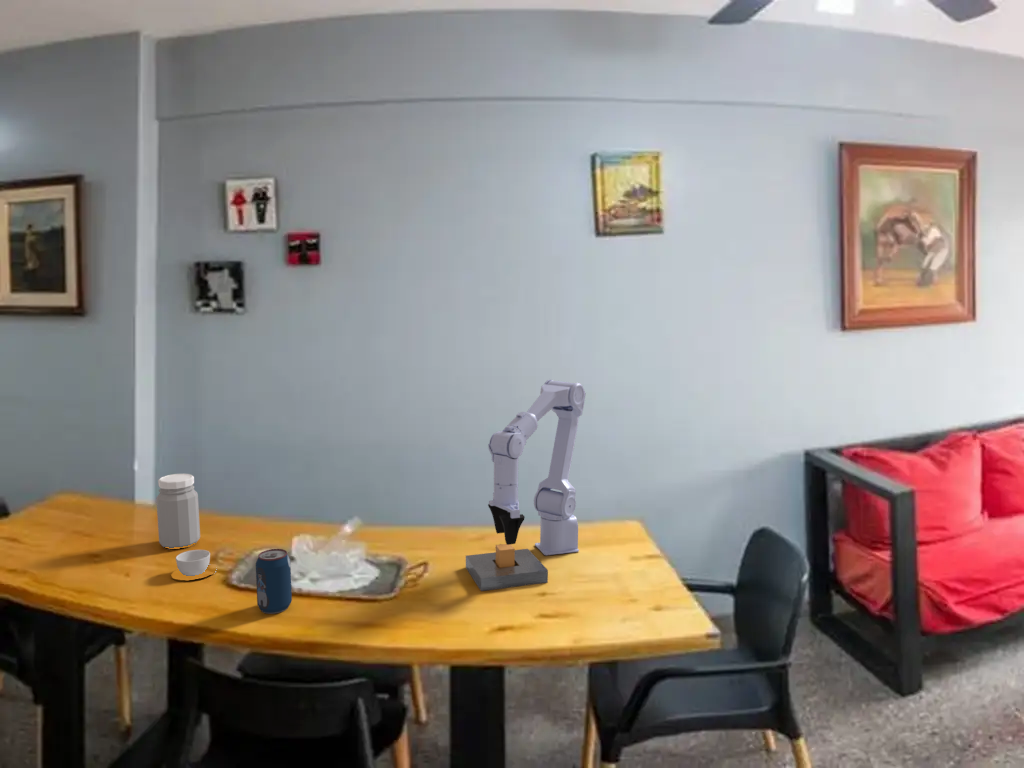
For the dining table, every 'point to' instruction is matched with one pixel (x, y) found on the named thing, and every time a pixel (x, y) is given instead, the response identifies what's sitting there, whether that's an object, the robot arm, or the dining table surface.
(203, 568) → the teacup
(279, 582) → the soda can
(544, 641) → the dining table surface
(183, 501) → the jar
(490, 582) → the gray block with hole
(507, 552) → the peach rectangular block
